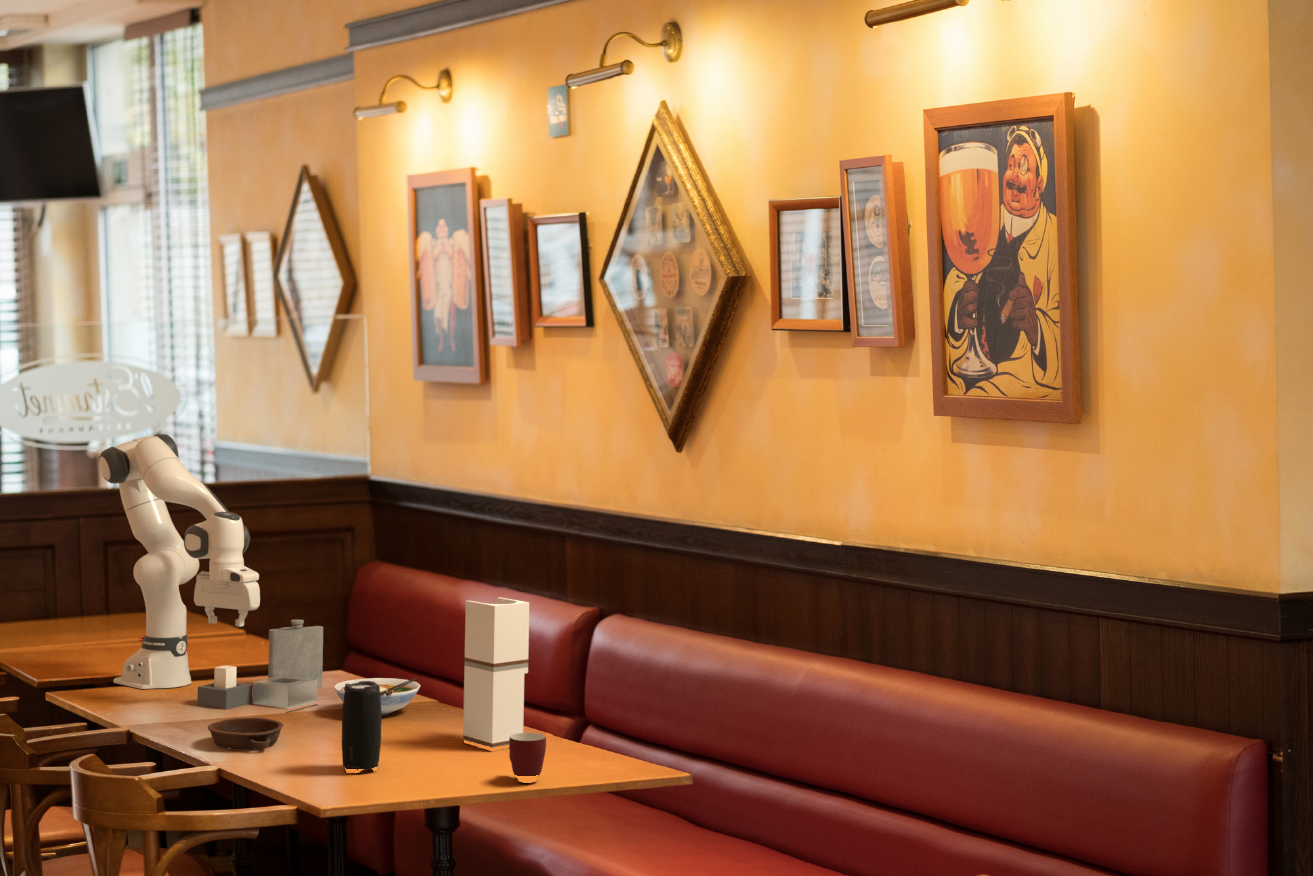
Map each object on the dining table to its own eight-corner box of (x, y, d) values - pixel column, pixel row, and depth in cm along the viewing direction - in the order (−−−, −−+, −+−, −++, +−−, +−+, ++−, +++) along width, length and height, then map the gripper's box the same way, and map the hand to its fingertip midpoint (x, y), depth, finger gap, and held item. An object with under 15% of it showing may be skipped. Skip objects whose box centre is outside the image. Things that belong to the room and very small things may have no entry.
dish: (225, 759, 343) (226, 737, 343) (194, 740, 361) (194, 720, 361) (297, 750, 354) (298, 729, 354) (263, 732, 372) (263, 712, 371)
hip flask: (319, 685, 432) (320, 617, 431) (325, 688, 428) (326, 618, 428) (266, 690, 423) (267, 620, 422) (271, 693, 419) (272, 622, 419)
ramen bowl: (355, 701, 410) (355, 672, 410) (433, 706, 406) (434, 677, 405) (316, 720, 386) (317, 688, 386) (399, 725, 381) (400, 694, 381)
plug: (214, 704, 397) (214, 667, 397) (224, 702, 401) (225, 665, 401) (225, 706, 395) (226, 668, 395) (235, 703, 399) (236, 666, 399)
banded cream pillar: (526, 745, 362) (529, 602, 362) (492, 752, 355) (494, 606, 354) (497, 737, 371) (500, 597, 370) (463, 743, 363) (465, 600, 362)
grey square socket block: (197, 709, 396) (197, 686, 396) (223, 702, 405) (224, 680, 405) (226, 713, 391) (226, 690, 391) (252, 706, 400) (252, 684, 400)
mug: (493, 779, 330) (494, 734, 329) (521, 773, 335) (522, 729, 335) (525, 788, 322) (525, 742, 322) (552, 782, 328) (553, 737, 328)
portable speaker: (363, 763, 341) (365, 678, 341) (388, 771, 335) (390, 684, 335) (332, 769, 335) (334, 683, 334) (357, 777, 329) (359, 689, 328)
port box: (252, 707, 399) (252, 681, 399) (282, 700, 410) (282, 674, 410) (287, 712, 394) (288, 686, 394) (317, 705, 405) (317, 679, 404)
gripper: (188, 571, 399) (188, 623, 399) (247, 576, 390) (247, 629, 390) (205, 569, 405) (205, 620, 405) (263, 574, 396) (263, 626, 396)
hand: (226, 624), depth 398 cm, fingers open, 8 cm apart
